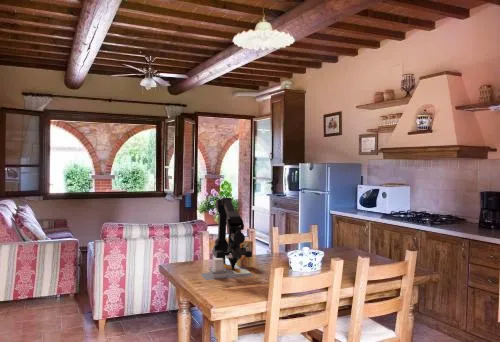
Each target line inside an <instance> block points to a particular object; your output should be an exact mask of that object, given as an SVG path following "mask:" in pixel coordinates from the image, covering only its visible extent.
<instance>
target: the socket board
mask: <svg viewBox="0 0 500 342" xmlns="http://www.w3.org/2000/svg"><path fill="white" fill-rule="evenodd" d="M240 270H241V273H238V272H235V271H232V270H227V273H218V274H213V273H212V272H211V271H210V270H209V272H202V273H199V274H200V275H201V277H202V278H203V279H204V280H205V281H211V280H220V279H230V278H231V279H234V278H244V277H253V276H255V275H254V274H253V273H252V272H250V271H249V270H248V269H247V268H243V269H240Z"/></svg>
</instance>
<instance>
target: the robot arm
mask: <svg viewBox="0 0 500 342" xmlns="http://www.w3.org/2000/svg"><path fill="white" fill-rule="evenodd" d="M215 208H216V211H217V212H218V225H217V226H218V228H217V229H218V230H217V232H218V233H217V238H216V239H215V241H214V245H213V247H212V256H214V258H223V259H224V264H226V259H228V262H229V264H230V265H229V266H231V268H232V271H234V268H236V267H235V266H236V262H237V261H238V260H239V259H241V257H242V255H245V256H246V257H252V252H251V251H250V250H246V248H245V247H242V248H241V247H240V244H241V243H243V242H244V240H246V237H245V234H244V233H243V232H242V231H244V230H245V223H244V220H243V218H242V217H241V215H240V214H239V213H238V212H237V211H236V210H235V206H234V204H233V200H232V197H222V198H218V199H217V200H216V201H215ZM227 230H228V238H226V236H227ZM226 239H228V240H226Z"/></svg>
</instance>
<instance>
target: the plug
mask: <svg viewBox="0 0 500 342" xmlns="http://www.w3.org/2000/svg"><path fill="white" fill-rule="evenodd" d="M223 266H224V259H223V258H216V257H213V258H212V267H211V268H209V272H210V271H211V272H212V273H213V274H218V273H227V271H228V270H226V268H224V267H223Z"/></svg>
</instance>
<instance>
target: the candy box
mask: <svg viewBox="0 0 500 342" xmlns="http://www.w3.org/2000/svg"><path fill="white" fill-rule="evenodd" d="M240 247H241V248H242V247H245V248H246V250H250V251H251V252H252V257H246V256H245V255H242V257H241V259H239V260H238V261H237V262H236V264H235V266H236V267H238V268H239V267H245V268H246V269H247V268H253V266H254V265H253V263H254V262H253V261H254V259H253V258H254V257H253V255H254V251H253V250H254V249H253V248H254V241H253V240H252V239H245V240H244V242H243V243H241V244H240Z"/></svg>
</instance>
